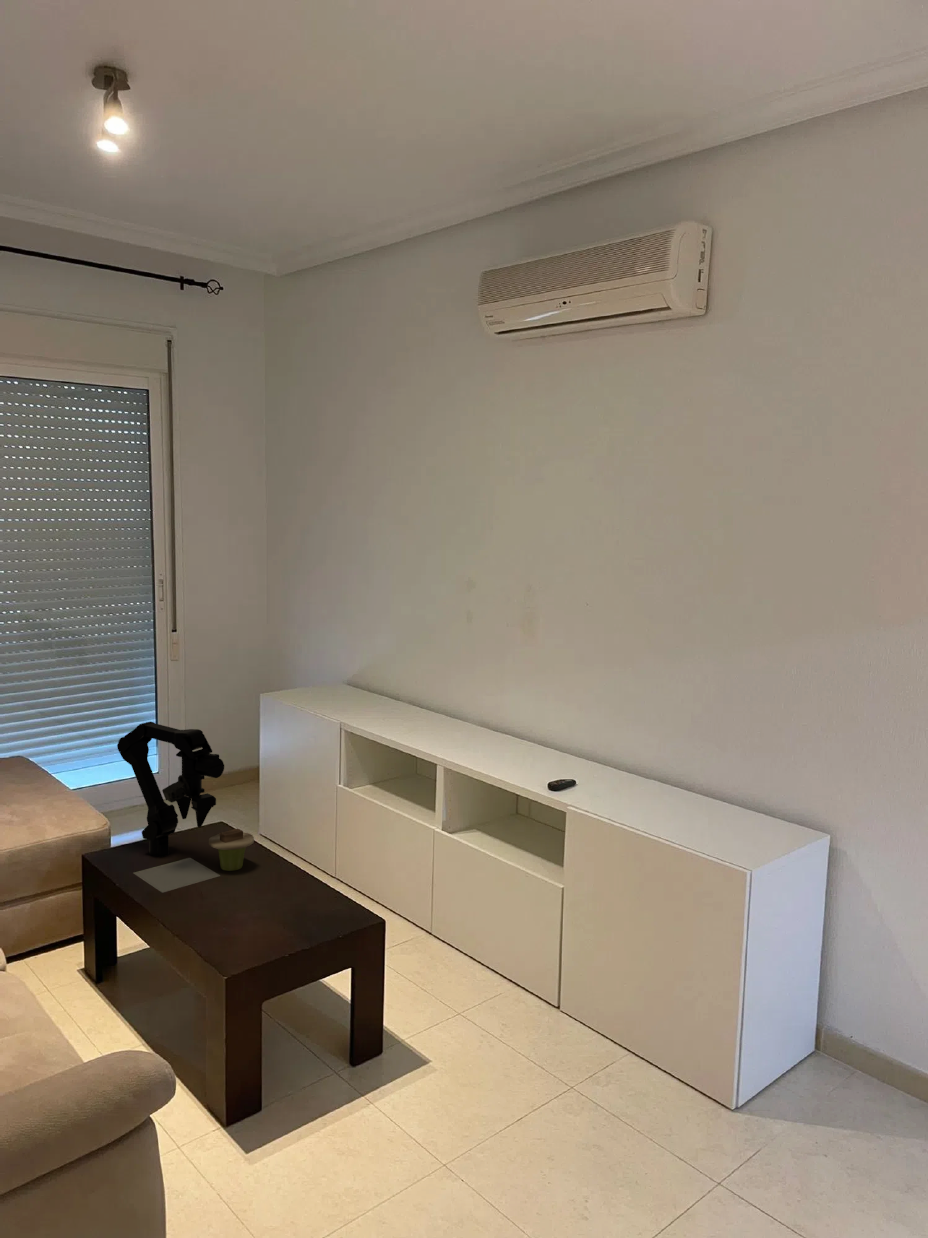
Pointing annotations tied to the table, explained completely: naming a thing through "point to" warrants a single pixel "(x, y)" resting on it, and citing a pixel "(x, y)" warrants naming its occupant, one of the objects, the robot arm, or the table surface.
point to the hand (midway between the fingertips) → (191, 823)
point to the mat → (176, 874)
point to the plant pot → (231, 859)
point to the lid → (231, 840)
